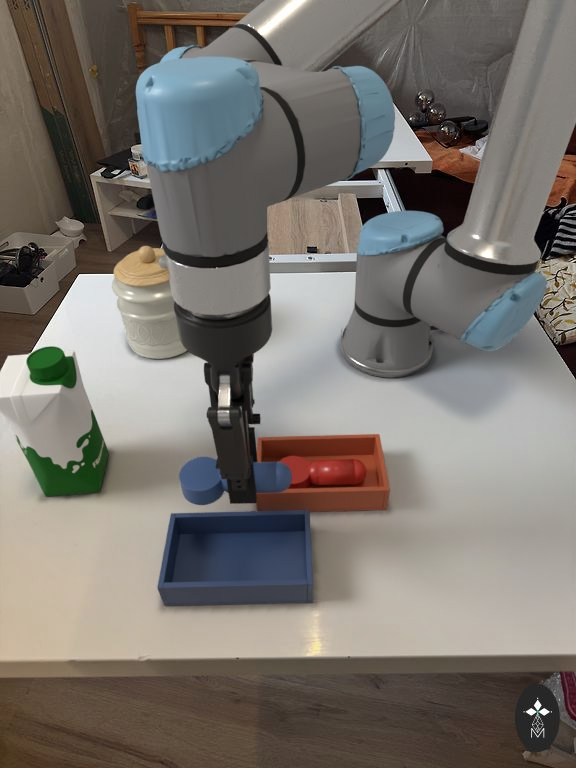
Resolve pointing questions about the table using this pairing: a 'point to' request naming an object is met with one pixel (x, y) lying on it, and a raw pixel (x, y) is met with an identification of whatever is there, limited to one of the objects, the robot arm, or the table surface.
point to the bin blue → (237, 558)
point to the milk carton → (53, 421)
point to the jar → (147, 304)
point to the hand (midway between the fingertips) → (244, 485)
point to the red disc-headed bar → (324, 472)
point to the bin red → (328, 497)
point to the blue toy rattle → (208, 487)
